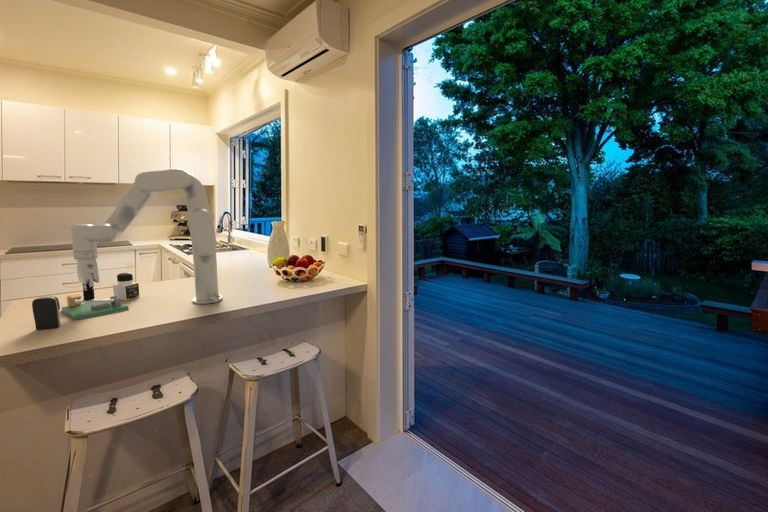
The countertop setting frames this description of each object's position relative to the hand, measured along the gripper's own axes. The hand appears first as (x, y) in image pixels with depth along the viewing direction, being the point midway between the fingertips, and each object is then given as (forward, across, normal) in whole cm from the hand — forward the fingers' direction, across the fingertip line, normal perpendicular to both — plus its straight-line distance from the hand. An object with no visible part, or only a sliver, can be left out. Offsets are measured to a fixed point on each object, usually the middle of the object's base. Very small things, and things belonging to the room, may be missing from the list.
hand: (89, 299), depth 152 cm
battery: (+6, -9, +14) cm, 18 cm away
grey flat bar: (+2, 0, -2) cm, 3 cm away
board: (+6, +3, -3) cm, 7 cm away
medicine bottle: (+6, +14, -18) cm, 23 cm away
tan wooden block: (+4, +9, +3) cm, 10 cm away
